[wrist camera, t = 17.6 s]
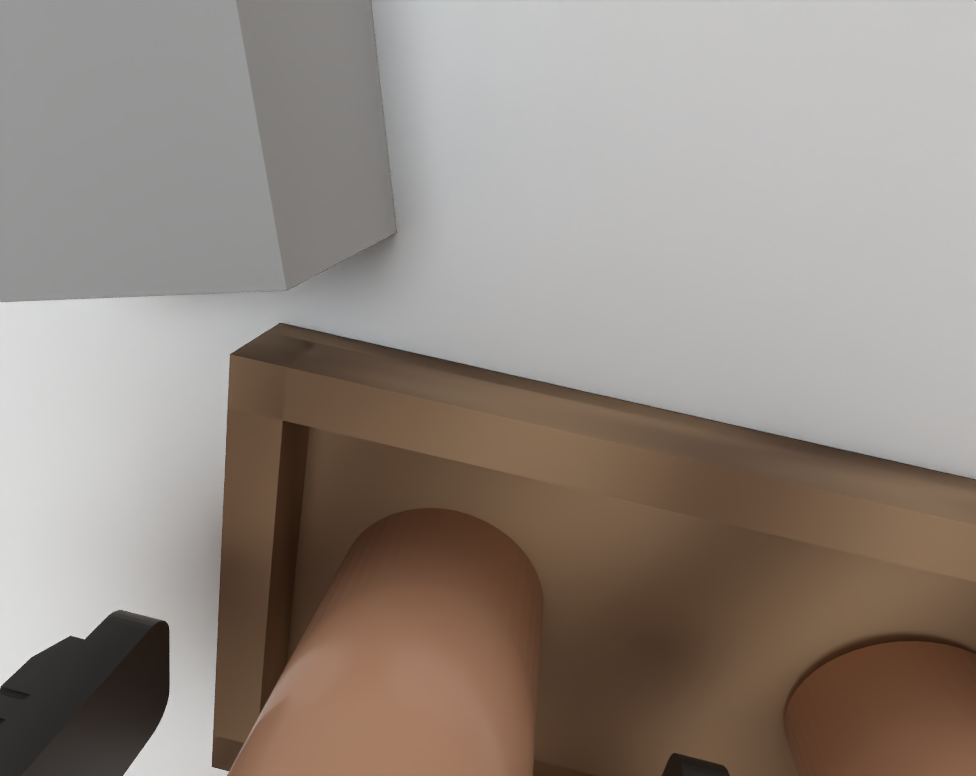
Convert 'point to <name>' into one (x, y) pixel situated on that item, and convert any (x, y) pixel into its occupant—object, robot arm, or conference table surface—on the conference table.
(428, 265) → the conference table surface
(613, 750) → the tray
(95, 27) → the grey block
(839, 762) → the clay cylinder
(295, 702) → the clay cylinder
